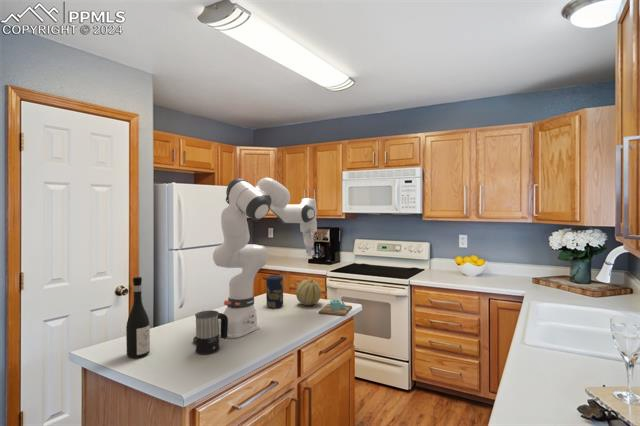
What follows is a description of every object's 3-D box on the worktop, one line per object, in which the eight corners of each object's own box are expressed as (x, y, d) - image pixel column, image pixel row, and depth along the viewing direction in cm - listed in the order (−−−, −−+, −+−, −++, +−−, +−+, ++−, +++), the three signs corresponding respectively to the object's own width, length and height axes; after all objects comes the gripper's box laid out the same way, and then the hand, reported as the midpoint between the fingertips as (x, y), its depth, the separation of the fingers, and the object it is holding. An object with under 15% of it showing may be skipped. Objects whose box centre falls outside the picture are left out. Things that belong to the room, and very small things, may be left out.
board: (344, 316, 192) (344, 306, 191) (318, 313, 196) (318, 304, 196) (351, 307, 207) (351, 299, 206) (327, 305, 211) (327, 297, 211)
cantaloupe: (303, 300, 223) (303, 275, 222) (325, 303, 216) (325, 277, 216) (291, 306, 209) (291, 280, 209) (314, 309, 203) (314, 282, 203)
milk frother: (209, 356, 141) (208, 318, 141) (176, 350, 147) (176, 313, 147) (231, 343, 155) (231, 308, 154) (201, 338, 160) (200, 304, 160)
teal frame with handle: (331, 310, 198) (331, 302, 198) (330, 307, 204) (330, 300, 204) (345, 309, 199) (345, 302, 199) (343, 306, 204) (343, 299, 204)
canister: (280, 309, 204) (280, 276, 204) (263, 308, 206) (263, 276, 206) (285, 304, 214) (285, 273, 213) (269, 303, 215) (269, 272, 215)
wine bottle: (154, 351, 146) (153, 275, 145) (141, 359, 138) (140, 280, 138) (135, 350, 148) (134, 275, 147) (122, 358, 140) (120, 279, 139)
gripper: (316, 229, 188) (316, 257, 188) (312, 227, 208) (312, 251, 208) (303, 229, 187) (304, 257, 187) (301, 227, 207) (301, 251, 208)
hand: (308, 254), depth 198 cm, fingers open, 8 cm apart
